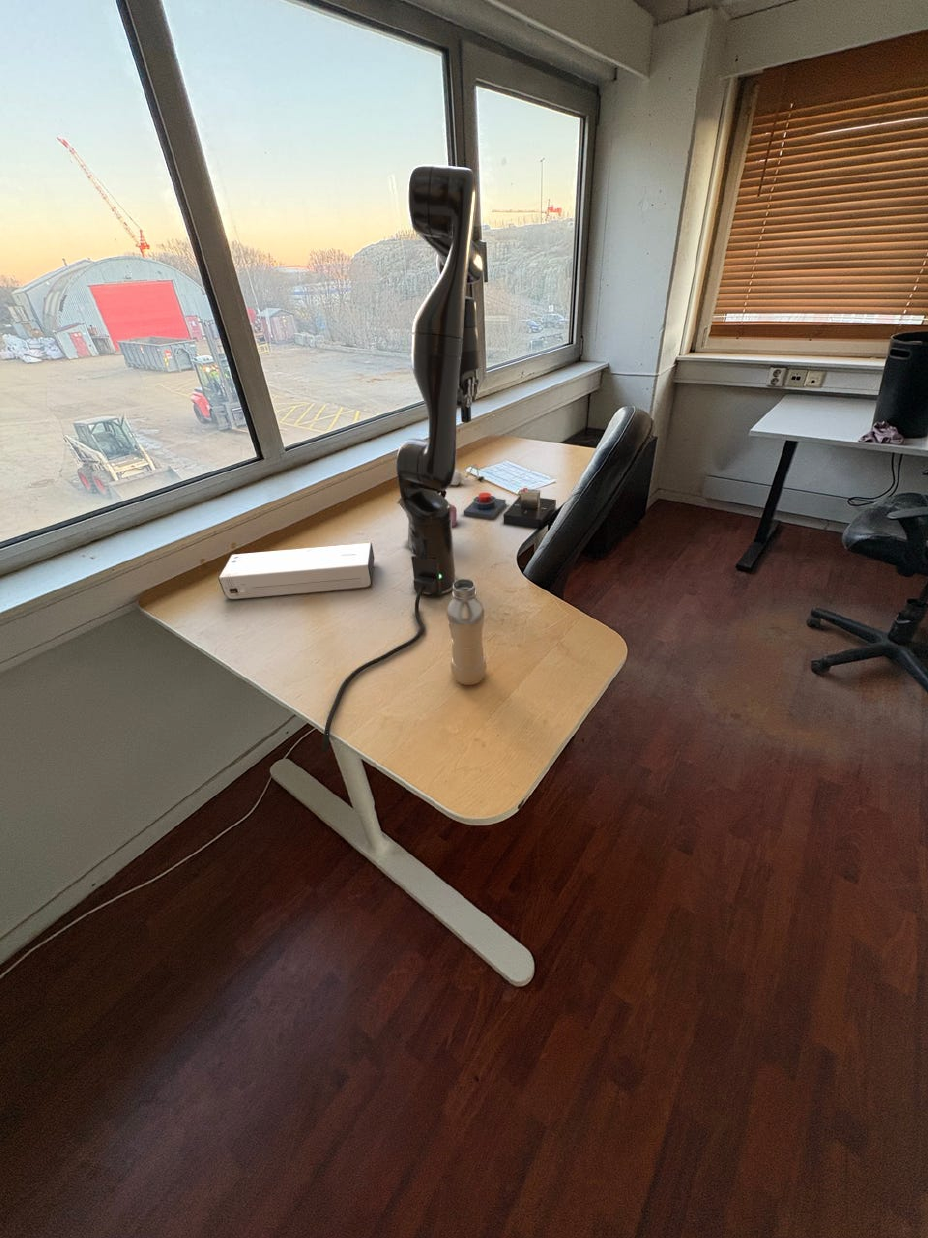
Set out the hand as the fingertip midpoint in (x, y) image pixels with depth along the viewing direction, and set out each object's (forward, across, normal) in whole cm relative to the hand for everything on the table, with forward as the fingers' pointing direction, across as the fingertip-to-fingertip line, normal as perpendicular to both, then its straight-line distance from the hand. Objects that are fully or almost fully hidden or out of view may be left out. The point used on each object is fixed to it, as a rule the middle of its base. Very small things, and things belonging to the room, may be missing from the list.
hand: (466, 421), depth 133 cm
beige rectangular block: (+23, +4, -17) cm, 29 cm away
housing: (+26, +4, -3) cm, 27 cm away
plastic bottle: (+27, -64, -28) cm, 75 cm away
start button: (+23, +4, -3) cm, 24 cm away
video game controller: (+27, -8, +6) cm, 28 cm away
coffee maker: (+27, -20, +4) cm, 34 cm away
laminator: (+27, -48, +23) cm, 60 cm away
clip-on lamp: (+26, +23, +15) cm, 38 cm away
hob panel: (+26, +4, -17) cm, 32 cm away
